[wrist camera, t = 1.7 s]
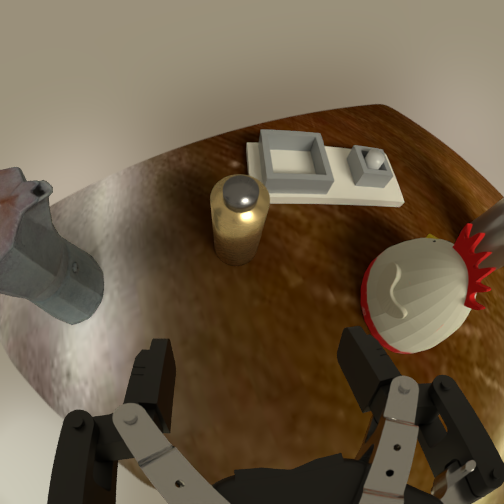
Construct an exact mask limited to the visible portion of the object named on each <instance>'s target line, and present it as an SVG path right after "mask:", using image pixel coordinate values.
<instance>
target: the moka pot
mask: <svg viewBox="0 0 504 504" xmlns="http://www.w3.org/2000/svg"><path fill="white" fill-rule="evenodd" d="M52 192H53V187H52V186H51V185H50V184H49V183H48V182H47V181H44V180H42V181H26V179H25V176H24V175H23V172H22V170H21V169H20V168H18V167H13V168H8V169H3V170H0V293H1V294H5V295H9V296H13V297H19V298H25V299H28V300H29V301H31V302H32V303H34V304H35V305H37V306H38V307H40V308H41V309H43V310H44V311H46V312H47V313H49V314H50V315H52V316H53V317H55V318H57V319H59V320H61V321H64V322H66V323H69V324H71V325H73V324H77V323H80V322H82V321H84V320H86V319H88V318H90V317H91V316H92V314H93V313H94V312H95V311H96V309H97V308H98V306H99V304H100V303H101V300H102V297H103V291H104V280H103V273H102V270H101V269H100V267H99V265H98V264H97V263H96V261H95V260H94V259H93V257H92V256H91V255H89V254H88V253H86V252H85V251H83V250H81V249H79V248H78V247H76V246H75V245H73V244H71V243H70V242H68V241H67V240H65V239H64V238H62V237H61V236H60V235H59V234H58V232H57V231H56V229H55V227H54V225H53V224H52V219H51V213H50V207H49V196H50V195H51V194H52Z"/></svg>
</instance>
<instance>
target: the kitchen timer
mask: <svg viewBox="0 0 504 504" xmlns="http://www.w3.org/2000/svg"><path fill="white" fill-rule="evenodd" d="M472 225H473V224H470V223H467V224H466V225H465V226H464V228H463V229H462V231H461V233H460V235H459V237H458V238H457V240H456V242H455V244H452V243H450V241H445V240H442V239H438V238H436V237H434V236H433V235H431V234H428V236H427V237H426V238H420V239H414V240H409V241H405V242H402V243H399V244H397V245H394V246H391V247H389V248H387V249H386V250H384V251H383V252H382V253H381V254H379V255H378V256H377V257H376V258H375V259H374V260H372V261H371V263H370V265H369V266H368V268H367V270H366V272H365V273H364V277H363V281H362V285H361V307H362V312H363V316H364V320H365V322H366V324H367V326H368V328H369V330H370V332H371V334H372V335H373V336H374V338H375V339H377V340H378V341H379V343H380V344H381V345H382V346H383V347H385V348H387V349H389V350H391V351H392V352H396V353H403V354H409V353H416V352H420V351H423V350H427V349H430V348H432V347H434V346H435V345H437V344H438V343H440V342H441V341H443V340H444V339H446V338H447V337H448V336H450V335H451V334H452V333H453V332H455V331H456V330H457V329H458V328H459V327H460V326H461V325H462V323H463V322H464V320H465V319H466V317H467V316H468V314H469V312H470V311H471V309H474V310H481V309H485V307H484V306H483V305H481V304H479V303H477V302H476V300H475V297H476V293H477V292H487V291H491V288H490V287H488V286H485V285H483V284H481V280H482V279H483V278H485V277H486V276H488V275H489V274H490V273H492V272H493V271H494V270H495V269H496V267H488V268H481V269H479V268H478V265H479V264H480V263H481V262H482V261H483V260H484V259H485V258H487V257H488V256H489V255H490V254H491V253H492V252H480V253H476V254H475V253H474V250H475V248H476V246H477V245H478V244H479V242H480V241H481V240H482V239H483V237H484V236H485V233H477V234H475V235H473V236H472V237H470V238H469V235H470V231H471V228H472Z"/></svg>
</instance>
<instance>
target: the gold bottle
mask: <svg viewBox="0 0 504 504" xmlns="http://www.w3.org/2000/svg"><path fill="white" fill-rule="evenodd" d="M210 202H211V214H212V225H213V236H214V246H215V252H216V254H217V256H218V258H219V259H220V260H221V261H222V262H224V263H226V264H228V265H231V266H241V265H244V264H247V263H248V262H250V261H251V260H252V259H253V258H254V256H255V254H256V251H257V248H258V244H259V240H260V237H261V233H262V230H263V226H264V223H265V219H266V216H267V212H268V209H269V205H270V195H269V192H268V190H267V188H266V187H265V185H264V184H263V183H262V182H260V181H259V180H258V179H256V178H254V177H251V176H248V175H242V174H237V175H231V176H227V177H225V178H223V179H221V180H220V181H219V182H218V183H217V184H216V185H215V186H214V188H213V189H212V192H211V196H210Z"/></svg>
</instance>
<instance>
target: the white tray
mask: <svg viewBox="0 0 504 504" xmlns="http://www.w3.org/2000/svg"><path fill="white" fill-rule="evenodd" d="M246 155H247V167H248V176H251V177H254V178H256V179H258V180H259V181H260V182H262V183H263V184H264V185H265V187H266V188H267V190H268V192H269V195H270V203H292V204H344V205H369V206H389V207H400V206H401V205H402V204H403V203H404V199H403V196H402V194H401V191H400V188H399V185H398V183H397V180H396V178H395V175H394V172H393V170H392V167H391V165H390V163H389V160H388V158H387V156H386V154H384V152H383V149H377V148H371V147H364V146H357V145H354V146H353V148H352V149H347V148H338V147H328V146H324V144H323V140H322V137H321V134H320V133H311V132H299V131H283V130H261V131H260V137H259V143H250V142H247V146H246Z"/></svg>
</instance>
